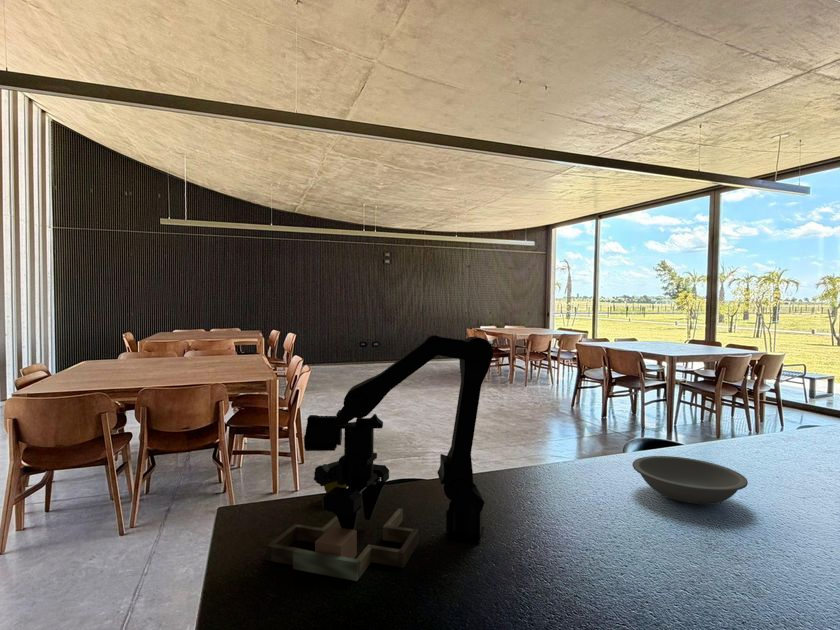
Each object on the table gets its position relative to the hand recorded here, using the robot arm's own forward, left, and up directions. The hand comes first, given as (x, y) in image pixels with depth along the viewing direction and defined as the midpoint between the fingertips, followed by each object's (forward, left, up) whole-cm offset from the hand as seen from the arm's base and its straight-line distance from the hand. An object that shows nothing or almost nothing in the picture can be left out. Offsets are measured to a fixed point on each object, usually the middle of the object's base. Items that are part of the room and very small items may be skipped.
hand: (358, 529), depth 87 cm
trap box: (0, +2, -2) cm, 2 cm away
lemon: (+13, -15, -2) cm, 20 cm away
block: (0, +9, -2) cm, 9 cm away
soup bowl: (-68, -42, -2) cm, 80 cm away
